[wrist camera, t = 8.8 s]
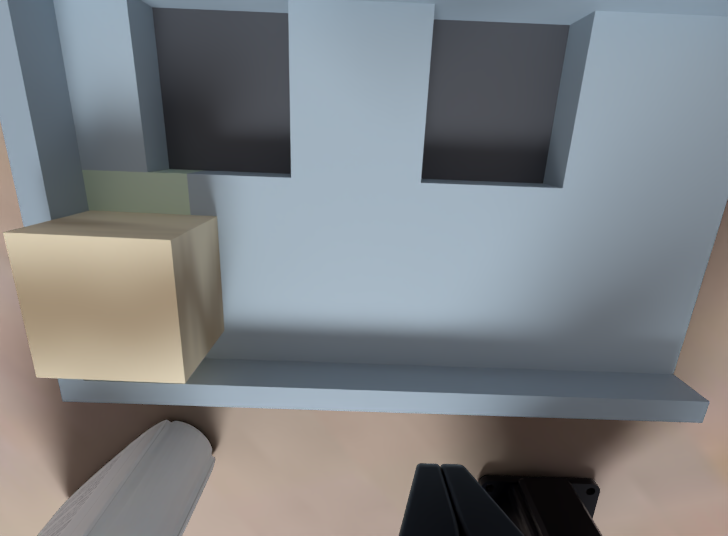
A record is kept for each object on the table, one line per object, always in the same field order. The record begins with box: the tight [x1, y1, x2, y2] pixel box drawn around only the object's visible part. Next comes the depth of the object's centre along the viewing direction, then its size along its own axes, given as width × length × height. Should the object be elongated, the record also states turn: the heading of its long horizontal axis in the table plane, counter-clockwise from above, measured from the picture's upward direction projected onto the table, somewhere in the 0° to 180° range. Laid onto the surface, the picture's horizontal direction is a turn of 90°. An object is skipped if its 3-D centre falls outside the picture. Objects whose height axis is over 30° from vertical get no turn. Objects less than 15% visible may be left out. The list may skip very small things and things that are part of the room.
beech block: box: [3, 210, 224, 384], centre depth 15 cm, size 5×5×4 cm
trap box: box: [0, 0, 728, 423], centre depth 16 cm, size 16×26×4 cm, turn 88°
